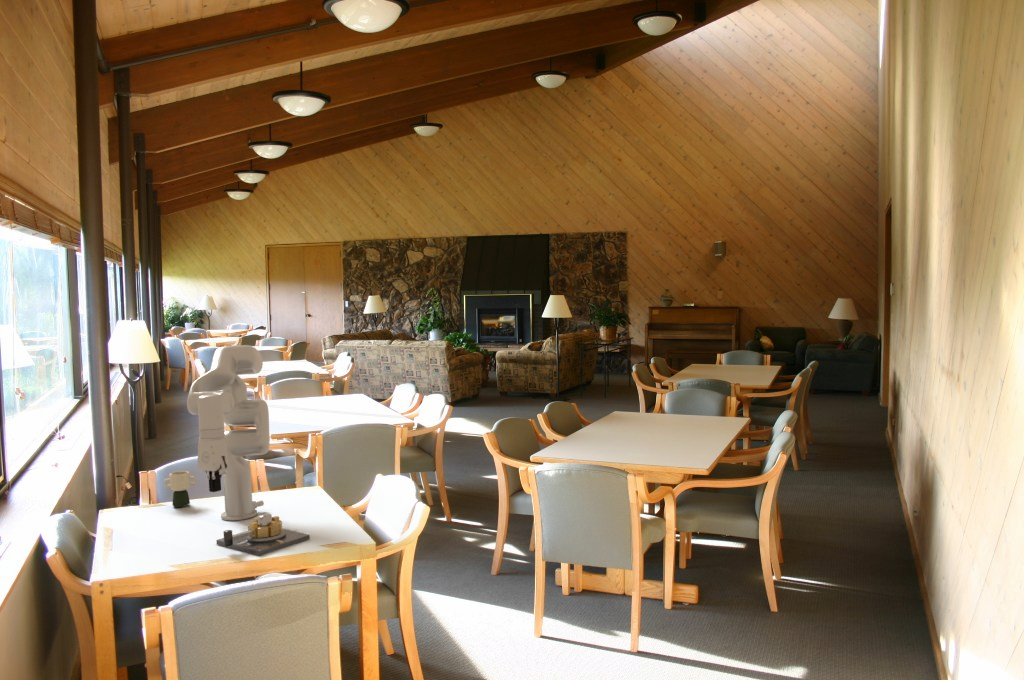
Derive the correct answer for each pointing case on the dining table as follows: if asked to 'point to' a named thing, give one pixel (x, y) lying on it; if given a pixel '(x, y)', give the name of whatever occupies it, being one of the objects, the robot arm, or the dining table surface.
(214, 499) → the dining table surface
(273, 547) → the base plate
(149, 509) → the dining table surface
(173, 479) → the character mug
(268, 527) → the knobbed lever handle
